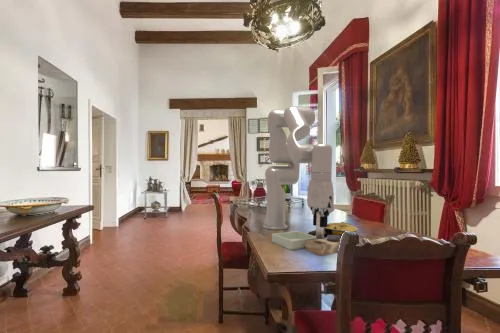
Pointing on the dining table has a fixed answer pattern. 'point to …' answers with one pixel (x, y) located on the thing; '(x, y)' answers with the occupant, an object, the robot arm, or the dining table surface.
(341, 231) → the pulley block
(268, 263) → the dining table surface
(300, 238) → the tray
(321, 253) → the tan base block
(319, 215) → the lock pin
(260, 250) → the dining table surface
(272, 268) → the dining table surface
